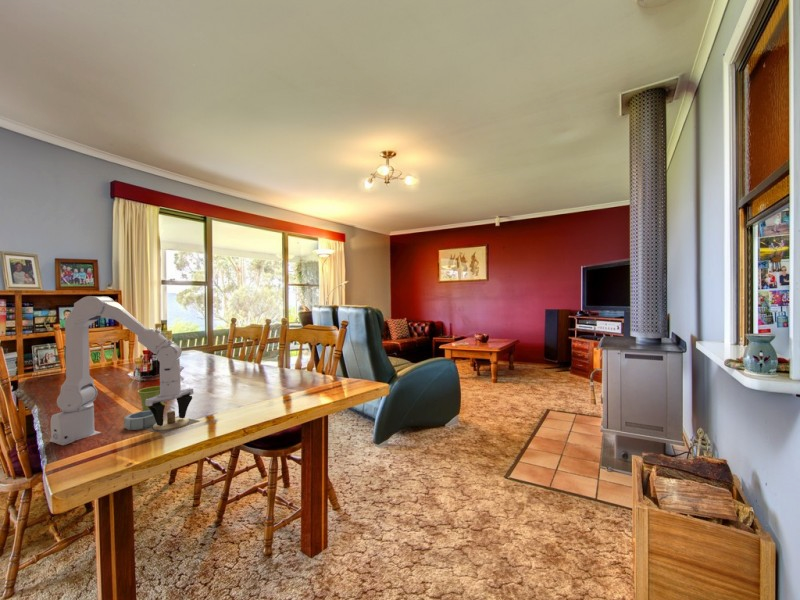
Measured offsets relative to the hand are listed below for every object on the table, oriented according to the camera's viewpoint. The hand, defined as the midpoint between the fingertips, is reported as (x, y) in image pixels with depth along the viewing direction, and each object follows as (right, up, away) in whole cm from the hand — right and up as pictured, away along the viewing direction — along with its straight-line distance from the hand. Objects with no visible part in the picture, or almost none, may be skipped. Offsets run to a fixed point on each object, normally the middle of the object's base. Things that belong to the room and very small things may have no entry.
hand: (171, 421), depth 116 cm
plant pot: (-17, -2, +16) cm, 23 cm away
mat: (0, -2, 0) cm, 2 cm away
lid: (0, -1, 0) cm, 1 cm away
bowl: (-10, -2, 0) cm, 10 cm away
